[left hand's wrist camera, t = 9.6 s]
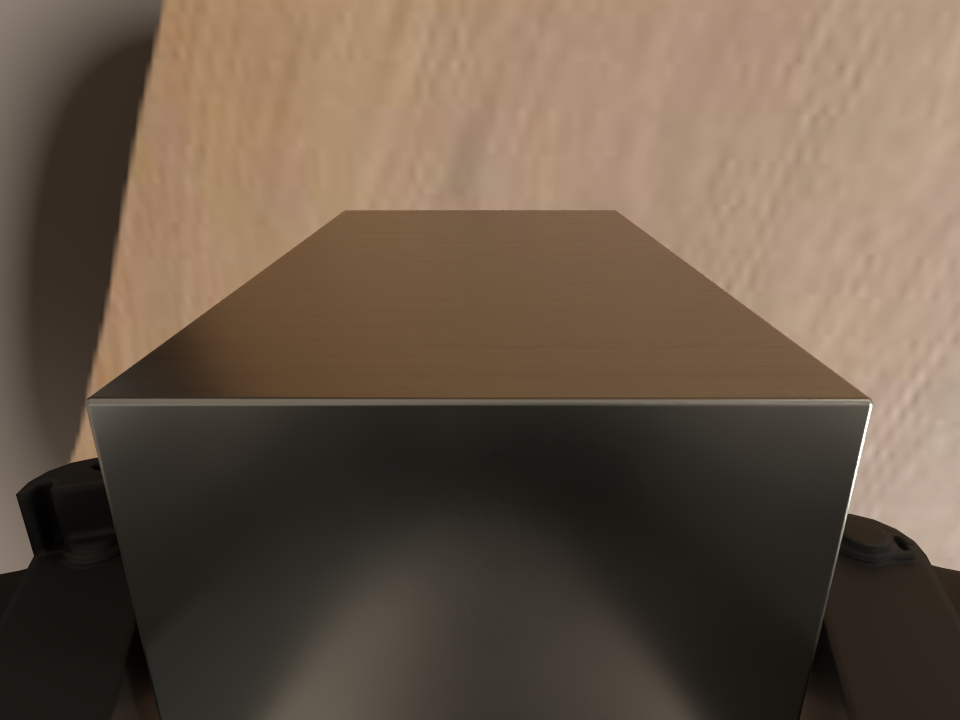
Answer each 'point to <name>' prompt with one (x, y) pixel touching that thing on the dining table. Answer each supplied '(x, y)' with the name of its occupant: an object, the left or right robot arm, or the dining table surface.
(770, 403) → the bar
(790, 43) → the dining table surface
